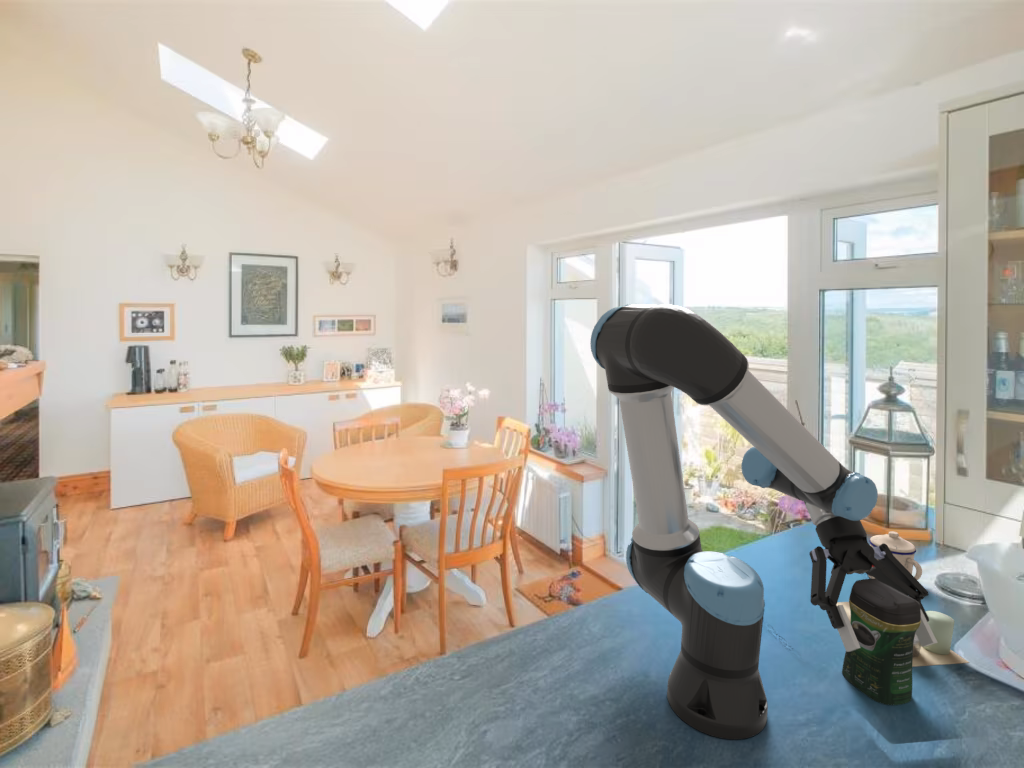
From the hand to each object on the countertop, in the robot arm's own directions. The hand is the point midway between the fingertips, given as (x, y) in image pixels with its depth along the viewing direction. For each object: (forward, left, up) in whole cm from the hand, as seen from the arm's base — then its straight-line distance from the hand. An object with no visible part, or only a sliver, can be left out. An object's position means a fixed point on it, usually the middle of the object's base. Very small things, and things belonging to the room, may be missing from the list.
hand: (892, 647), depth 89 cm
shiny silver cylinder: (+12, +10, -8) cm, 18 cm away
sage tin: (+18, +10, -8) cm, 23 cm away
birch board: (+14, +16, -10) cm, 24 cm away
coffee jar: (0, +2, -10) cm, 10 cm away
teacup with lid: (+33, +36, -10) cm, 50 cm away
